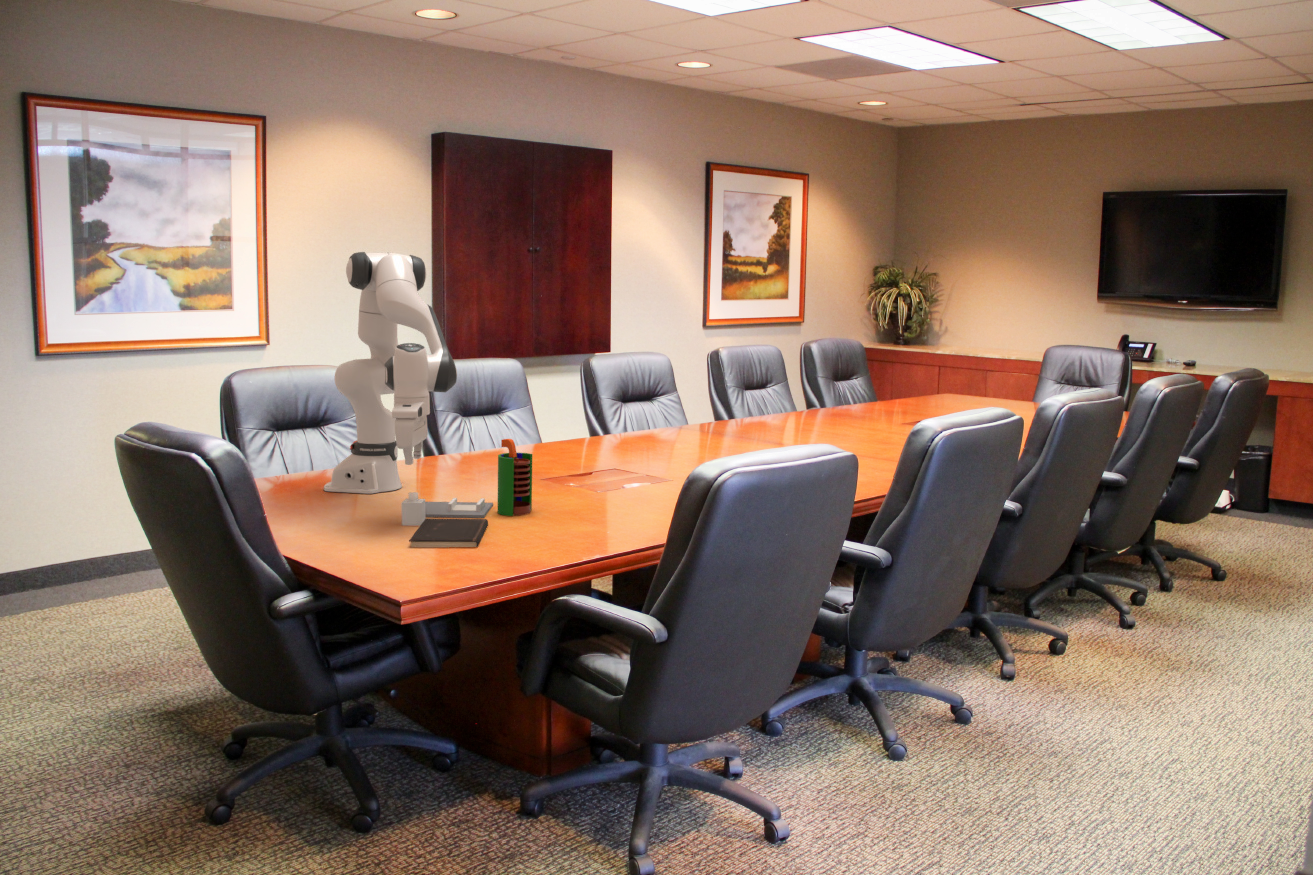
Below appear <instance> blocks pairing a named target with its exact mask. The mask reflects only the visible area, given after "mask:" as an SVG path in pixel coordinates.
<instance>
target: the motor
mask: <svg viewBox="0 0 1313 875" xmlns="http://www.w3.org/2000/svg"><path fill="white" fill-rule="evenodd" d="M500 443H501V444H500V446H501V448H507V450H508V452H504V453H500V454H497V514H499V515H502V516H508V517H513V516H523V515H525V516H526V515H528V514H530V513H531V511H532V509H533V508H532V505H533V500H532V499H533V498H532V497H533V453H529V452H517V449H516V448H517V447H516V444H515V441H514V439H512V438H504V439H501V442H500Z"/></svg>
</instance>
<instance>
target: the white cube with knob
mask: <svg viewBox="0 0 1313 875" xmlns="http://www.w3.org/2000/svg"><path fill="white" fill-rule="evenodd" d="M425 502H426V498H419V492H416V491H412V492H408V498H405V499H404V500H402V502H401V526H413V527H414V526H419V527H420V525H421V524H422V523H423V522H424V520H425V519H427V517H426V515H425Z"/></svg>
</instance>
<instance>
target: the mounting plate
mask: <svg viewBox="0 0 1313 875" xmlns="http://www.w3.org/2000/svg"><path fill="white" fill-rule="evenodd" d="M485 500H486V499H485V498H483V497H482V498H480V499H479V500H478V501H477V502H476V501H474V502H472V501H471V502H470V501H458V498H457V497H453V498H452V499H451V500H450V501H425V515H426V518H441V519H485V517H486V516H487V515H488V513H489V511H490V510H491V509H492V508H493V507H494V503H493V502H486V501H485Z"/></svg>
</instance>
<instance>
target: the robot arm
mask: <svg viewBox="0 0 1313 875" xmlns="http://www.w3.org/2000/svg"><path fill="white" fill-rule="evenodd" d="M345 267H346V269H345V274H346V278H347V280H348V284H349V285H350V286H351V287H352V288H354V289H357V290H361V292H360V297H359V298H360V299H359V307H358V324H357V325H358V327H357V335H358V338H359V339H360V341H361V342H362V343H364V344H365V345H366V346H368V348H369V351H370V358H360V359H357V358H356V359H353V360H349V361H346V362H343V363H341V364H339V365H338V367H337V368H336V370H335V373H334V384H335V386H336V389H337V390H338V391H339V392H340V393H341V395H343V396H344V397H345V398H347V400H348V402H349V403H350V405H351V406H352V409H353V411H354V415H355V422H356V439H357V440H355V441H353V442H352V443H351V445H350V446H349V447H350V448H349V450H350V455H348V456H347V457H345V458H344V459H343V460H341V462H339V463H338V464H337V465H336V466H335V467H334V469H333V470H332V473H331V480H330V481H329V482H327V483H326V484H324V486H323V490H324V491H325V492H333V493H334V492H335V493H348V494H349V493H353V494H365V495H366V494H368V495H370V494H377V493H383V492H391V491H396V490H399V489H402V487H403V485H402V483H401V479H400V478H401V477H400V474H399V468H398V462H397V460H398V456H399V455H398V454H399V453H398V452H399V451H398V449H400V450H403V451H402V452H403V455H404V456H403V457H404V464H405V465H406V466H407V465H408V466H410V465H413V464H414V460H416V459H417V460H419V459H421V458H422V451H423V445H424V444H423V442H424V441H425V440H426V439H427V438H428V435H429V434H428V417H427V416H428V415H430V413H431V409H430V408H431V407H430V406H431V405H430V403H431V402H430V392H434V393H447V392H448V391H449V390H451V389H452V388H453V387H454V386H455V385H456V384H457V381H458V380H457V378H458V369H457V366H456V362H455V361H454V359H453V356H452V355H451V353H450V350H449V348H448V345H447V342H446V339H445V336H444V334H443V330H442V328H441V325H440V323H439V320H438V318H437V315H436V313H435V310H434V309H433V307H432V306H431V305H429V304H427V303H426V302H424V300H423V298H421V296H420V295H419V291H421V289H422V288H424V285H425V283H426V280H427V269H426V265H425V262H424V261H423V259H422V258H421V257H419V256H416V255H413V254H410V255H406V254H402V253H397V252H365V251H360V252H359V251H358V252H353V254H351V255H350V256H349V258H348V261H347V263H346V266H345ZM398 325H401V326H405V327H408V328H411V329H414V330H416V331H418V332H420V333H421V334H422V335H423V336H424V337H425V339H426V343H427V345H428V348H429V352H430V353H431V354H427V349H426V347H425V346H424V345H422V344H421V343H414V342H413V343H412V342H407V343H399V342H398ZM390 394H393V408H392V410H389V409H388V408H386V407H385V406H384V404H383V402H382V397H381V396H383V395H390Z"/></svg>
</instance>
